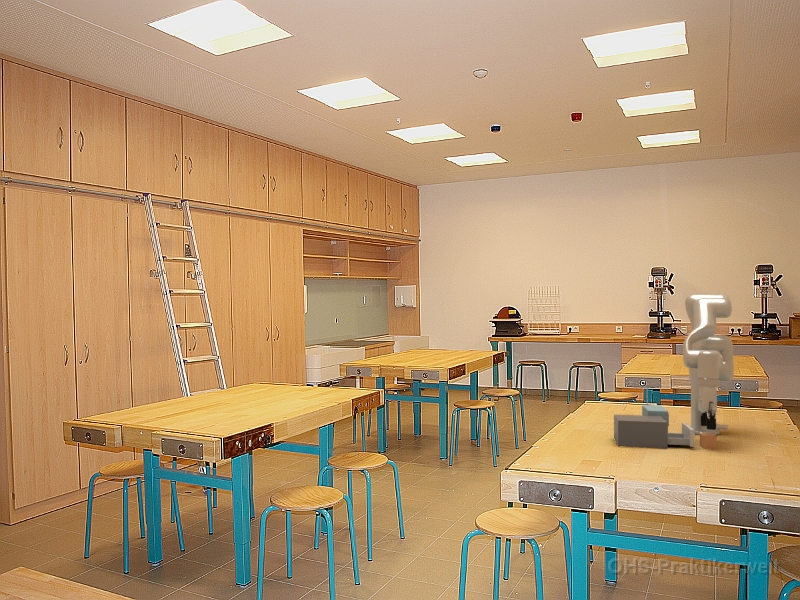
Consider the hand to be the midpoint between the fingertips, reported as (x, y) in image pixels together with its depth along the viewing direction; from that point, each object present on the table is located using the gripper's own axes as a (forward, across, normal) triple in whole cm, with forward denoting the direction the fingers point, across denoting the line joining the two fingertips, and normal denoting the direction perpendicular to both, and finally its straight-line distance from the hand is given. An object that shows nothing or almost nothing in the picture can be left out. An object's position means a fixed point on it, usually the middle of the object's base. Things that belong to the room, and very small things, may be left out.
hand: (708, 427), depth 260 cm
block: (+8, -1, 0) cm, 8 cm away
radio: (+7, -20, -16) cm, 27 cm away
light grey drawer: (+6, -2, -15) cm, 16 cm away
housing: (+8, -2, -25) cm, 26 cm away
